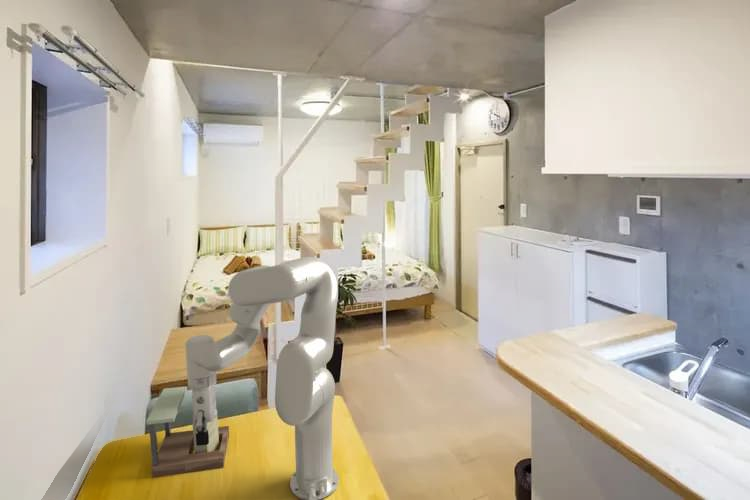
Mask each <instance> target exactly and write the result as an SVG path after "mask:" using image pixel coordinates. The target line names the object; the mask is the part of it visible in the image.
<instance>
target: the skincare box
mask: <svg viewBox="0 0 750 500" xmlns="http://www.w3.org/2000/svg"><path fill="white" fill-rule="evenodd" d="M203 420H206V419H203ZM218 422H219V421H218V409H217V408H216V410H215V414H214V418H213V420H212V421H211V422H207V430H208V434H209V444H208V445H201V446H197V445H196V424H195V423H194V418H193V417H192V430H193V437H194V447H193V450H194V454H196V453H203V452H210V451H218V450H219V449H220V443H219V434H218V427H219V423H218ZM202 426H204V428H205V423H202Z"/></svg>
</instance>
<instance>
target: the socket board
mask: <svg viewBox="0 0 750 500" xmlns="http://www.w3.org/2000/svg"><path fill="white" fill-rule="evenodd" d="M187 391H188V385H187V386H178V387H167V388H163V389H162V391H161V393H160V395H159V396H158V398H157V400H156V402H155V404H154V405H153V407H152V410H151V411H150V413H149V415H148V417H147V419H146V421H145V422H146V424H145V425H148V426H149V437H150V440H149V441H150V451H151V452H150V453H151V463H152V465H151V468H150V469H151V470H150V471H151V478H152V479H155V478H162V477H163V478H164V477H168V476H169V477H171V476H177V475H182V474H183V475H184V474H190V473H197V472H203V471H211V470H216V469H217V470H218V469H224V466H225V461H226V454H227V449H228V448H227V447H228V442H229V436H230V426H229V425H224V426H218V434H219V444H220V445H219V449H217V450H216V451H210V452H203V453H196V454H195V453H192V452H193V450H194V437H193V429H191V430H183V431H176V432H175V431H174V432H171V431H172V430H171V422H173V423H174V422H175V420H176V417H177V415H178V413H179V409H180V408H181V405H182V403H183V400H184V399H185V396H186V393H187ZM163 423H164V432H165V433H164V434H165V435H164V437H163V439H162V442H161V445H160V446H159V449H158V439H157V426H156V425H158V424H163Z"/></svg>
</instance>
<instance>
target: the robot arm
mask: <svg viewBox="0 0 750 500" xmlns="http://www.w3.org/2000/svg"><path fill="white" fill-rule="evenodd" d="M227 288H228V289H227V290H228V295H229V297H230V299H231V301H232V303H231V305H230V307H229V311H228V313H229V317H230V318H231V320H232V321H233V322H234V323H235V324H236V326H235V327H234V329H233V331H232V332H231V334H229V335H226V336H224V337H223V338H220V339H218V340H217V341H215V339H214V338H213V337H212V336H211V335H208V334H199V335H195V336H191V337H190V338H188V339H187V340H186V341H185V342H186V343H185V357H186V358H185V360H186V371H187V373H186V374H187V376H186V377H187V389H190V390H191V391H192V393H191V394H192V397H191V398H192V418H194V423H195V424H196V445H197V446H201V445H208V444H209V434H208V430H207V422H211V421H212V420H213V418H214V414H215V410H216V409H217V399H216V389H215V385H216V384H217V372H219V371H222V370H224V369H225V368H227V367H229V366H231V365H232V364H234V363H236V362H237V361H239V360H241V359H242V358H244V357H245V356H246V355H248V354H249V352H251V349H252V347H253V346H254V345H255V343H256V341H257V340H258V339H259V335H260V332H261V321H262V319H263V317H264V316H265V313H266V312H267V310H268V308H269V307H270V305H271V304H277V303H283V302H287V301H290V300H293V299H296V298H298V297H300V296H302V295H304V294H305V298H304V299H305V300H304V302H303V305H302V308H301V313H300V326H299V331H298V335H297V336H296V337H295V338H293V339H292V340H290V341H288V342H287V343H286V344H285V345H284V346H283V347H282V349H281V350H280V353H278V357H277V362H276V371H275V386H274V387H275V389H274V390H275V391H274V405H275V411H276V413H277V416H278V417H279V419H280V420H281V421H282V422H283V423H285V424H286V425H288V426H291V427H292V426H294V445H295V447H294V449H295V472H294V473H293V474H292V475H291V477H290V480H289V487H290V490H291V492H292V494H293V495H294V496H296V497H297V498H298V499H301V500H321V499H325V498H326V497H328V496H330V495H331V494H332V493H334V492H335V491H336V489H337V488H338V486H339V474H338V472H337V471H336V469H334V468H333V406H334V402H335V401H334V400H335V393H336V383H335V379H334V377H333V374H332V373H331V371H329V369H327V368H326V367H325V366H326V365H327V364H328V363H329V362H330V360H331V359H332V357H333V354H334V348H335V347H334V345H335V343H334V342H335V333H336V315H337V307H338V296H339V288H338V281H337V278H336V275H335V272H334V271H333V270H332V268H331V267H330V266H329V265H328V264H327V263H326V262H325V261H323V260H322V259H320V258H317V257H315V256H304V257H299V258H296V259H295V258H294V259H293V260H290V261H287V262H283V263H280V264H277V265H276V264H275V265H272V266H270V265H257V266H254V267H251V268H248V269H244V270H241V271H239V272H237V273H236V274H234V275H233V276H232V278H231V279H230V281H229V284H228V287H227ZM203 419H206V420H203ZM202 423H205V428H204V426H202Z"/></svg>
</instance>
